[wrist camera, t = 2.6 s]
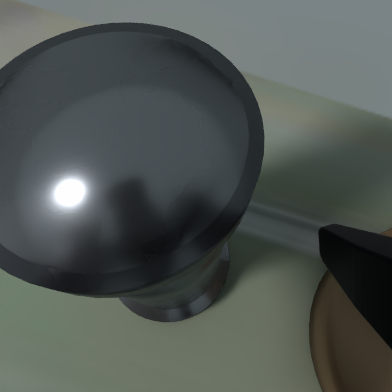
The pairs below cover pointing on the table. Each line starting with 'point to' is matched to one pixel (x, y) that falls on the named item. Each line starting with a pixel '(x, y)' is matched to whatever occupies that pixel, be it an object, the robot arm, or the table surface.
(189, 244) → the grey metal cylinder
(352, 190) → the table surface
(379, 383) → the stand
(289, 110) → the table surface
